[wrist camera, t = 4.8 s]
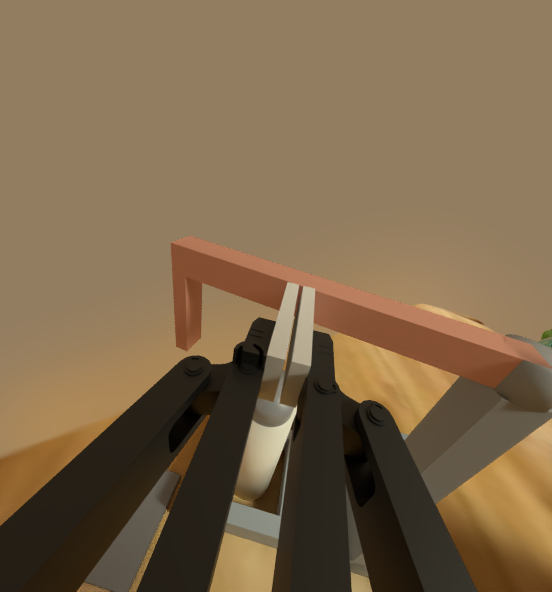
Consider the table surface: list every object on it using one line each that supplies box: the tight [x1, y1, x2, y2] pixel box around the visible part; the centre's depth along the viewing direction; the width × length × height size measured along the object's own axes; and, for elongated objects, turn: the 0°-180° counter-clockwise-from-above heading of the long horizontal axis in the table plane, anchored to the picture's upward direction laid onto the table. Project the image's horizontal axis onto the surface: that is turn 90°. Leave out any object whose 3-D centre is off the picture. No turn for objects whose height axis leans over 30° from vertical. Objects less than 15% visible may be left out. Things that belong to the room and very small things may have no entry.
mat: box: [84, 470, 181, 592], centre depth 22 cm, size 8×8×1 cm
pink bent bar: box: [171, 236, 552, 413], centre depth 18 cm, size 26×4×10 cm, turn 70°
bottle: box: [234, 370, 297, 501], centre depth 22 cm, size 5×5×15 cm
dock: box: [224, 376, 552, 577], centre depth 21 cm, size 22×10×21 cm, turn 79°
